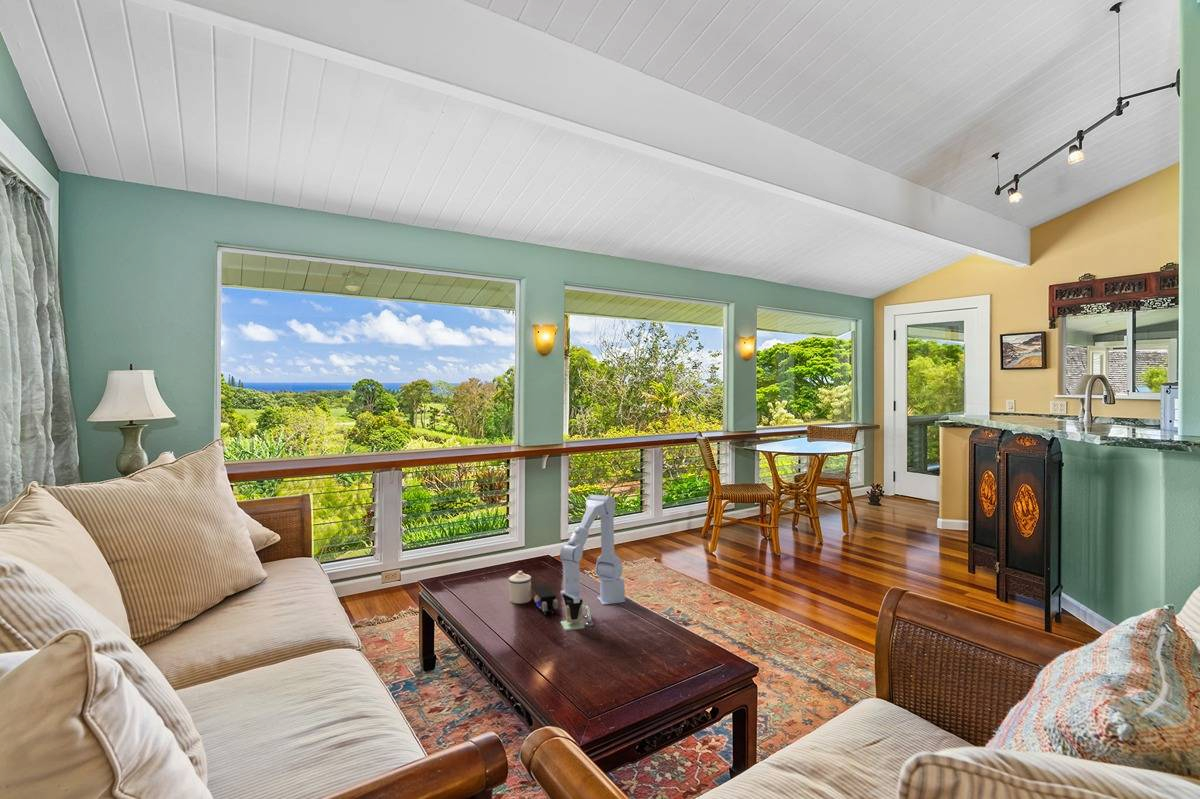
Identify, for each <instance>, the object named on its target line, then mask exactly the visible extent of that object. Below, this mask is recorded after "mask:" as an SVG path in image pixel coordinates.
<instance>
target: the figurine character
mask: <svg viewBox="0 0 1200 799" xmlns="http://www.w3.org/2000/svg"><path fill="white" fill-rule="evenodd" d="M531 590H533V592H535V595H534V597H533V600H534V603H535V604H536V607H538V608H539V609H540V611H542V612H543V614H544V615H545V616H546V615H548V614H547V612H550V613H551V614H554V613H555V611H553V609H554V610H557V609H559V601H558V599H556V597H557V595H556V594H555V593H554V592H553V591H552V589H551V588H550V587H549V585H547V584H543V585H542V584H541V585H536V586H535V585H534V586H531Z"/></svg>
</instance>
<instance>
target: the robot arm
mask: <svg viewBox="0 0 1200 799" xmlns="http://www.w3.org/2000/svg"><path fill="white" fill-rule="evenodd" d="M585 508H586V509H585V511H584V514H583V516H582V519H581V522H580V524H579V526H576V527H575V528H574V530H573V532H572V533H571V535H570V537H569V539H568V541H567V542H566V544H564V545H562V546H561V549H560V553H559V557H560V558H559V559H560V560H561V565H562V566H563V590H560V594H561V595H562V599H563V600H564V604H565V606H566V605H568V606H569V609H570V616H571V619H572V620H575V619H577V618H578V614H579V609H580V607H581V605H583V602H584V601H583V599H582V598H580V596H581V588H580V587H581V586H580V585H581V584H580V583H581V580H580V579H581V578H580V575H581V574H580V573H581V572H580V561H581V560H582V558H583V554H584V549H585V548H584V546H585V544H586V542H587V540H588V538H589V536H590V534H589V530H590V527H591V526H592V524H593V523H594V522H595V519H596V518H597V516H599V517H600V541H601V542H600V543H601V544H600V546H601V554H600V555H599V556H598V557H597V558H596V564H595V573H596V575H597V576H598V579H600V580H599V581H600V582H599V584H600V588H599V589H600V590H599V591H600V596H599V595H598V596H597V600H598V601H599V602H600V603H601V604H602V605H611V604H612V605H613V604H619V603H620V604H621V603H626V595H625V594H626V593H625V592H626V590H625V580H624V578H623V577H622V575H623V570H624V569H623V565H622V558H620V557H619V556H618V555H617V554H616V553H615V529H614V525H615V524H614V520H615V519H614V515H615V514H616V499H615V498H614V497H613V496H612V495H603V494H602V495H601V494H593V493H590V494H588V496H587V498H586V501H585Z"/></svg>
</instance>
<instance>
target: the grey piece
mask: <svg viewBox="0 0 1200 799" xmlns="http://www.w3.org/2000/svg"><path fill="white" fill-rule="evenodd" d="M581 605H582V610H586V611H585V612H586V613H585V614H584V615H583V618H584V619H586V621H585V622H584V626H586V627H592V626H594V625H595V622H594V621H592V618H593V614H592V613H591V606H590V605H584V604H581Z"/></svg>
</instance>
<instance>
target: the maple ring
mask: <svg viewBox="0 0 1200 799" xmlns="http://www.w3.org/2000/svg"><path fill="white" fill-rule="evenodd" d="M582 605H583V604H581V607H580V609H579V614H578V618H577V619H575V620H572V619H571V616H570V609H569V606H568V605H565V621H567V622H569V623H579V622H580V621H581V622H582V620H583V608H582Z"/></svg>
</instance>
